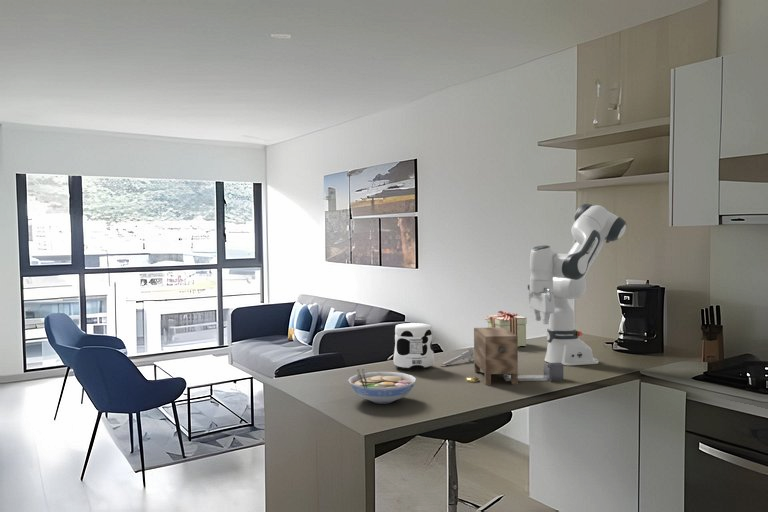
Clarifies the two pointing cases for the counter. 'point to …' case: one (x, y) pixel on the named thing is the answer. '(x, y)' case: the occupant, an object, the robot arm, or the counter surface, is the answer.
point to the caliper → (462, 356)
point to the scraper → (550, 373)
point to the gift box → (510, 324)
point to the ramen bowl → (382, 385)
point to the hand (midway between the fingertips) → (541, 322)
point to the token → (472, 379)
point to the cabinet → (496, 353)
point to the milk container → (413, 346)
